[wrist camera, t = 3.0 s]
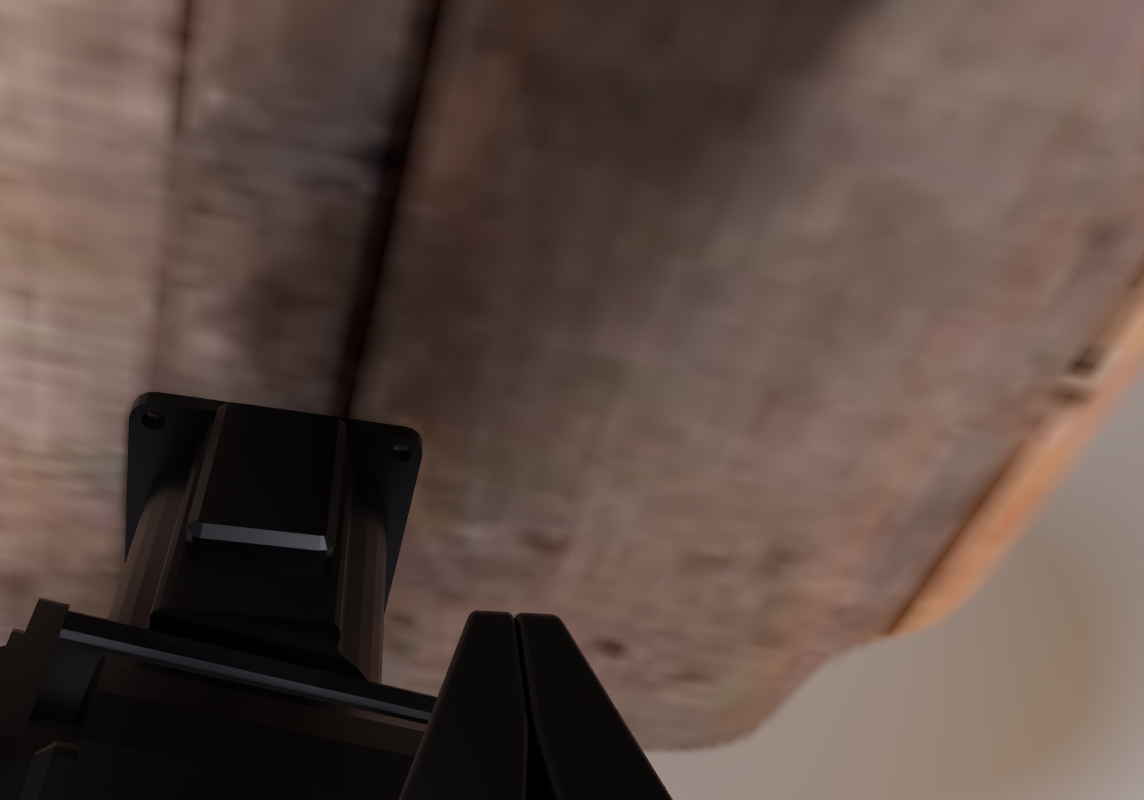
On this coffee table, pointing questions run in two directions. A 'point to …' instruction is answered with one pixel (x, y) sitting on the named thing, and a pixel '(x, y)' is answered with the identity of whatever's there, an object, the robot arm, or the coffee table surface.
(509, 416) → the coffee table surface
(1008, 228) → the coffee table surface
